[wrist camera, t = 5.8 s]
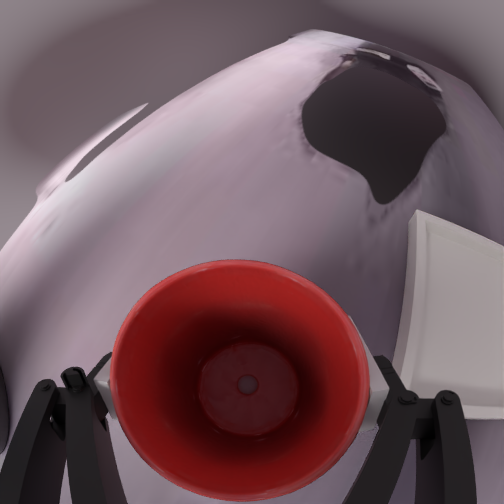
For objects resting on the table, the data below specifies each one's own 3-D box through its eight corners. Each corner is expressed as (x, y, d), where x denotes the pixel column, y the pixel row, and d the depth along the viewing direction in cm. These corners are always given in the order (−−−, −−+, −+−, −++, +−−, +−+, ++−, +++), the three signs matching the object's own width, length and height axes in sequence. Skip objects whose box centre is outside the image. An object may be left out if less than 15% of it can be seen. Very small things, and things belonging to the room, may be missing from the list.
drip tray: (379, 409, 16) (391, 409, 14) (408, 222, 24) (416, 209, 22) (514, 418, 12) (528, 416, 10) (519, 268, 20) (529, 259, 18)
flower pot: (244, 292, 22) (226, 215, 13) (352, 378, 17) (416, 357, 9) (150, 383, 18) (71, 361, 10) (254, 482, 14) (241, 542, 5)
